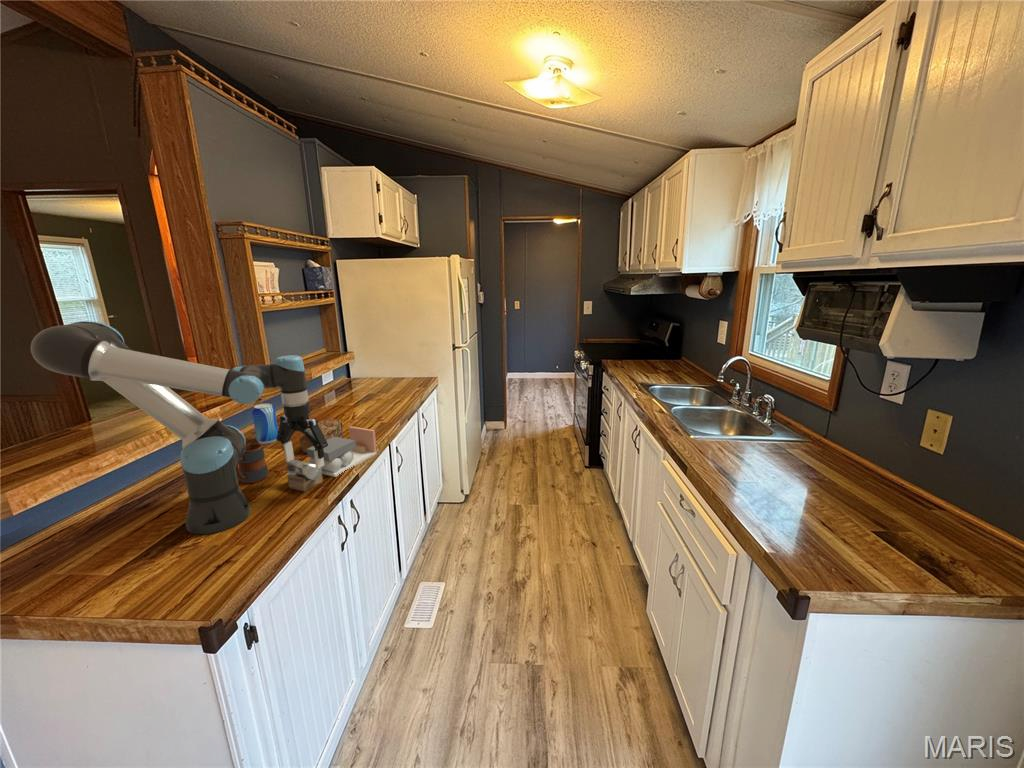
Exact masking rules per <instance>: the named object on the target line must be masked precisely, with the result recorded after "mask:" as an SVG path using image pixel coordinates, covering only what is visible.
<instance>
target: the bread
mask: <svg viewBox="0 0 1024 768" xmlns="http://www.w3.org/2000/svg"><path fill="white" fill-rule="evenodd" d="M317 421H318V420H317ZM318 425H319V427H320V429H321V431H322V433H323V435H324V437H325V439H326V440H328V439H330V438H332V437H340V438H343V431H344V429H343V422H342V421H341V420H339V419H334V418H323V419H321V420H319V421H318ZM307 429H309V428H307ZM307 429H306V430H307ZM299 444H300V446H301V451H302V452H303V453H307V449H308V448H310V447H312V446H313V445H312V443H311V442H310V440H309V439H308V438H307V436H306V435H305V434H303V433H302V434H301V435H300V437H299Z"/></svg>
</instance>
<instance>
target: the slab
mask: <svg viewBox="0 0 1024 768" xmlns="http://www.w3.org/2000/svg"><path fill="white" fill-rule="evenodd" d="M326 441H327V443H328V446H327V447H325V448H323V450H324V457H323V458H324V460H325V461H331V460H333V459H335V458H337V457H339V456H341V455H342V454H344V453H346V452H348V451H350V450H352V449H354V448H356V445H355V440H351V439H350V438H345V437H344V438H343V437H341V438H340V437H332V438H330V439H328V440H326ZM318 446H319V445H318ZM314 450H315V447H314V446H312V447H310V448H308V449H307V455H306V456H307V457H308V458H310V459H311V458H315V455H314Z"/></svg>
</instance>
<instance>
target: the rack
mask: <svg viewBox="0 0 1024 768" xmlns="http://www.w3.org/2000/svg"><path fill="white" fill-rule="evenodd" d="M286 477H287V483H288V488H289V489H293V490H297V491H302V492H307V491H309V490H310V489H312V488H314V487H317V485H319V484H321V483H322V482H324V480H323V474H322V471H321V475H320V476H319V478H317V479H316V480H312V479H307V478H303V477H299V476H295V475H290V474H289V473H288V474H287V476H286Z"/></svg>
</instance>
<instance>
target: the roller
mask: <svg viewBox="0 0 1024 768" xmlns="http://www.w3.org/2000/svg"><path fill="white" fill-rule="evenodd" d="M286 471H287V474H288V475H289V474H290V475H294V476H299V477H303V478H307V479H312V480H316V479H317V478H319V476H320V475H321V471H322V469H321V467H320V468H318V469H317V468H316V464H312V463H310V462H307V461H301V460H298V459H294V460H292V461H289V462H288V465H287V466H286Z"/></svg>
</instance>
